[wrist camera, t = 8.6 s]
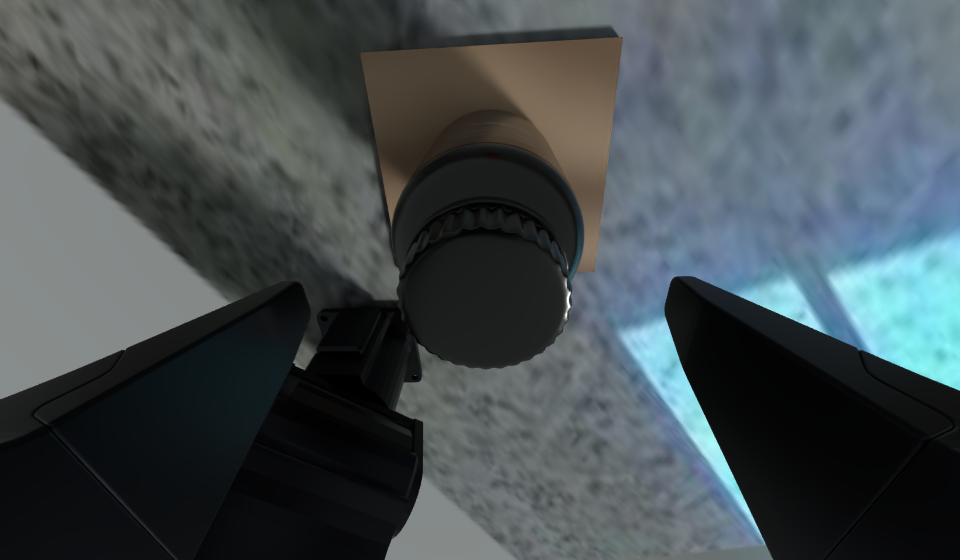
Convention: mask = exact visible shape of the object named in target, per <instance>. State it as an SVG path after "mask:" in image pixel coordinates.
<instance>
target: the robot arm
mask: <svg viewBox="0 0 960 560" xmlns="http://www.w3.org/2000/svg"><path fill="white" fill-rule="evenodd" d="M664 310H665V317H666V320H667V323H668V326H669V329H670V332H671V335H672V338H673V341H674V344H675V347H676V350H677V353H678V356H679V359H680V362H681V365H682V367H683V370H684V372H685V374H686V377H687V379H688V381H689V383H690V385H691V387H692V390H693V392H694V394H695V396H696V398H697V400H698V402H699V404H700V406H701V409H702V411H703V413H704V415H705V417H706V419H707V421H708V423H709V425H710V427H711V430H712V432H713V434H714V436H715V438H716V440H717V442H718V444H719V446H720V449H721V451H722V453H723V455H724V457H725V459H726V461H727V463H728V465H729V468H730V470H731V472H732V474H733V476H734V478H735V480H736V482H737V484H738V487H739V489H740V491H741V493H742V495H743V497H744V499H745V501H746V503H747V505H748V508H749V510H750V512H751V514H752V516H753V518H754V520H755V522H756V524H757V527H758V529H759V531H760V533H761V535H762V537H763V539H764V541H765V543H766V546H767V548H768V550H769V552H770V554H771V556H772V558H773V560H960V391H959V390H957V389H954V388H952V387H949V386H947V385H944V384H942V383H939V382H937V381H934V380H932V379H929V378H927V377H924V376H922V375H919V374H917V373H915V372H912V371H910V370H908V369H905V368H903V367H900V366H898V365H896V364H893V363H891V362H889V361H886V360H884V359H882V358H879V357H877V356H875V355H872V354H870V353H868V352H866V351H863V350H859V351H858V349H857V348H856V347H854V346H852V345H849V344H847V343H845V342H842V341H840V340H838V339H835V338H833V337H831V336H829V335H826V334H824V333H822V332H819V331H817V330H815V329H813V328H810V327H808V326H806V325H803V324H801V323H799V322H796V321H794V320H792V319H790V318H787V317H785V316H783V315H780V314H778V313H776V312H773V311H771V310H769V309H767V308H764V307H762V306H760V305H757V304H755V303H753V302H750V301H748V300H746V299H744V298H741V297H739V296H737V295H734V294H732V293H730V292H728V291H725V290H723V289H721V288H718V287H716V286H714V285H711V284H709V283H707V282H705V281H702V280H700V279H698V278H695V277H692V276H677V277H674V278H673V279H672V281H671V283H670V287H669V291H668V295H667V299H666V303H665V309H664ZM310 315H311V310H310V306H309V303H308V300H307V297H306V294H305V291H304V288H303V286H302V284H301V283H299V282H297V281H284V282H280V283H278V284H275V285H273V286H271V287H268V288H266V289H264V290H261V291H259V292H257V293H254V294H252V295H250V296H247V297H245V298H243V299H240V300H238V301H236V302H233V303H231V304H229V305H226V306H224V307H222V308H219V309H217V310H215V311H212V312H210V313H208V314H205V315H203V316H201V317H198V318H196V319H194V320H191V321H189V322H187V323H184V324H182V325H180V326H177V327H175V328H173V329H170V330H168V331H166V332H163V333H161V334H159V335H156V336H154V337H152V338H149V339H147V340H145V341H142V342H140V343H138V344H135V345H133V346H130V347H128V348H127V349H126V350H121V351H119V352H116V353H114V354H112V355H109V356H107V357H105V358H102V359H100V360H97V361H95V362H93V363H91V364H88V365H85V366H84V367H81V368H78V369H76V370H73V371H71V372H69V373H66V374H64V375H61V376H59V377H56V378H54V379H51V380H49V381H46V382H44V383H41V384H39V385H36V386H34V387H31V388H28V389H26V390H23V391H21V392H18V393H16V394H13V395H11V396H8V397H5V398H3V399H0V560H384V559H385V556H386V553H387V550H388V547H389V545H390V542H391V539H393V538H394V537H396V536H397V535H398V534H399V532H400V531H401V530H402V528H403V527H404V525H405V524H406V521H407V520H408V518H409V516H410V514H411V511H412V509H413V507H414V504H415V502H416V499H417V496H418V493H419V489H420V486H421V480H422V473H423V422H422V421H420V420H417V419H414V420H413V419H411V418H409V417H407V416H404V415H402V414H400V413H398V412H396V411H395V409H396V406H397V403H398V399H399V396H400V393H401V389H402V386H403V383H404V382H419V381H420V380H421V378H422V368H421V363H420V357H419V351H418V345H417V341H416V338H415V337H414V336H413V335H411V334H410V333H409V332H408V329H407V325H406V324H405V323H404V322H403V321H402V318H401V315H402V313H401V311H400V310H399V308H342V309H322V310H321V311H320V312H319V313H318V315H317V320H318V323H319V326H320V329H321V332H322V335H323V338H322V339H321V341H320V342H319V344H318V345H317V347H316V353H315V355H314V356H313V358H312V359H311V361H310V363H309V364H308V366H307V367H306V369H305V370H303V369H301V368H299V367H296V366H295V364H294V363H293V362H294V359H295V356H296V354H297V351H298V349H299V346H300V343H301V341H302V338H303V335H304V333H305V330H306V327H307V325H308V322H309V319H310ZM323 315H324V316H326V317H327V318H325V317H324V316H323ZM414 375H416V376H414Z"/></svg>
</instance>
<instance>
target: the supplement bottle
mask: <svg viewBox="0 0 960 560" xmlns="http://www.w3.org/2000/svg"><path fill="white" fill-rule="evenodd" d="M584 237H585V233H584V222H583V216H582V213H581V209H580V206H579V203H578V201H577V198H576V196H575V194H574V191H573V190H572V188H571V186H570V184H569V182H568V180H567V178H566V176H565V174H564V172H563V170H562V168H561V166H560V164H559V163H558V161H557V159H556V157H555V155H554V153H553V151H552V149H551V147H550V145H549V144H548V142H547V141H546V139H545V138H544V136H543V135H542V134H541V132H540V131H539V130H538V129H537V128H536V127H535V126H534V125H532V124H531V123H530V122H529V121H527V120H526V119H524V118H522V117H520V116H518V115H516V114H513V113H511V112H507V111H503V110H492V109H488V110H480V111H475V112H472V113H468V114H466V115H464V116H462V117H460V118H458V119H456V120H455V121H454V122H452V123H451V124H449V125H448V126H447V127H446V128H445V129H444V130H443V131H442V132H441V133H440V135H439V136H438V137H437V138H436V140H435V141H434V143H433V144H432V146H431V147H430V149H429V150H428V152H427V153H426V155H425V156H424V158H423V159H422V161H421V162H420V164H419V165H418V167H417V168H416V170H415V172H414V173H413V175H412V176H411V178H410V179H409V181H408V182H407V184H406V186H405V187H404V189H403V191H402V193H401V195H400V197H399V199H398V202H397V204H396V207H395V210H394V214H393V219H392V226H391V241H392V249H393V253H394V257H395V260H396V263H397V266H398V268H399V270H400V274H399V284H398V287H397V295H398V298H399V300H398V308H399V310H400V311H401V313H402V315H401V318H402V321H403V322H404V323H405V324H406V325H407V329H408V332H409V333H410V334H411V335H413V336H414V337H415V338H416V341H417V343H418V344H420V345H422V346H424V347H425V348H426V350H427V351H428V352H429V353H432V354H435V355H437V356H438V357H439V358H440V359H442V360H447V361H450V362H452V363H453V364H455V365H464V366H466V367H469V368H482V369H490V368H504V367H506V366H513V365H517V364H519V363H520V362H522V361H527V360H530V359H532V358H533V356H535V355H537V354H540V353H543V351H544V350H545V348H546V347H548V346H550V345H551V344H553V343H554V341H555V339H556V337H557V336H558V335H560V334H561V333H562V332H563V326H564V325H565V323H566V322H567V321H568V320H569V311H570V309H571V307H572V299H571V293H572V285H571V282H570V281H571V280H572V278H573V276H574V275H575V273H576V271H577V268H578V266H579V263H580V260H581V257H582V253H583V248H584Z"/></svg>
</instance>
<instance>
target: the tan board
mask: <svg viewBox="0 0 960 560" xmlns="http://www.w3.org/2000/svg"><path fill="white" fill-rule="evenodd" d="M622 39H623V37H614V38H597V39H580V40H563V41H546V42H529V43H512V44H495V45H478V46H461V47H444V48H427V49H410V50H393V51H376V52H360V56H361V61H362V67H363V72H364V78H365V84H366V89H367V95H368V100H369V106H370V111H371V117H372V122H373V128H374V133H375V139H376V144H377V150H378V156H379V161H380V167H381V172H382V178H383V183H384V189H385V194H386V200H387V205H388V211H389V217H390V222H391V226H392V219H393V214H394V210H395V207H396V204H397V202H398V199H399V197H400V195H401V193H402V191H403V189H404V187H405V186H406V184H407V182H408V181H409V179H410V178H411V176H412V175H413V173H414V172H415V170H416V168H417V167H418V165H419V164H420V162H421V161H422V159H423V158H424V156H425V155H426V153H427V152H428V150H429V149H430V147H431V146H432V144H433V143H434V141H435V140H436V138H437V137H438V136H439V135H440V133H441V132H442V131H443V130H444V129H445V128H446V127H447V126H448V125H449V124H451V123H452V122H454V121H455V120H456V119H458V118H460V117H462V116H464V115H466V114H468V113H472V112H475V111H480V110H488V109H492V110H503V111H507V112H511V113H513V114H516V115H518V116H520V117H522V118H524V119H526V120H527V121H529V122H530V123H531V124H532V125H534V126H535V127H536V128H537V129H538V130H539V131H540V132H541V134H542V135H543V136H544V138H545V139H546V141H547V142H548V144H549V145H550V147H551V149H552V151H553V153H554V155H555V157H556V159H557V161H558V163H559V164H560V166H561V168H562V170H563V172H564V174H565V176H566V178H567V180H568V182H569V184H570V186H571V188H572V190H573V191H574V194H575V196H576V198H577V201H578V203H579V206H580V209H581V213H582V216H583V222H584V233H585V237H584V248H583V253H582V257H581V260H580V263H579V266H578V268H577V271H576V272H594V271H595V263H596V254H597V246H598V238H599V230H600V221H601V213H602V205H603V197H604V188H605V180H606V172H607V163H608V155H609V147H610V139H611V130H612V122H613V114H614V105H615V97H616V89H617V81H618V72H619V64H620V56H621V47H622ZM399 272H400V270H399Z"/></svg>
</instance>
